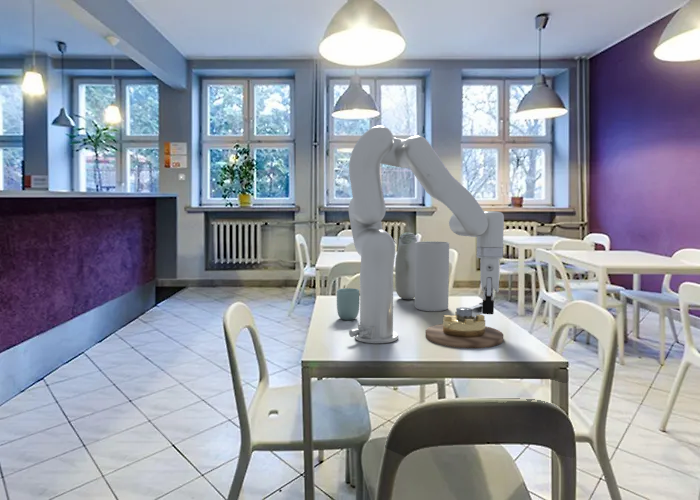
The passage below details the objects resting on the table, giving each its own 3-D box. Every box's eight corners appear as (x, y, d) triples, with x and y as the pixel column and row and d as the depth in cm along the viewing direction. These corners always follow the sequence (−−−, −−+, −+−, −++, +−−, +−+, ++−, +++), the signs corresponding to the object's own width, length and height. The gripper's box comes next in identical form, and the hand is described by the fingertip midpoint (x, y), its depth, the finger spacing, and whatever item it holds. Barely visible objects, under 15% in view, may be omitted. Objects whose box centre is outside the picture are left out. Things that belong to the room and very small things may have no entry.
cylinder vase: (451, 312, 172) (452, 243, 169) (416, 311, 172) (417, 243, 170) (444, 305, 184) (445, 241, 182) (412, 305, 184) (413, 241, 182)
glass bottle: (393, 297, 201) (393, 231, 199) (417, 296, 202) (417, 231, 200) (397, 301, 192) (397, 232, 189) (421, 301, 192) (422, 232, 190)
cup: (339, 316, 166) (339, 287, 165) (361, 316, 164) (361, 288, 163) (334, 321, 158) (334, 291, 157) (357, 322, 156) (357, 292, 156)
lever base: (479, 353, 122) (479, 347, 121) (410, 337, 137) (410, 332, 137) (516, 336, 137) (516, 331, 137) (451, 324, 153) (451, 319, 152)
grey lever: (472, 339, 128) (473, 315, 128) (434, 331, 137) (435, 309, 136) (504, 325, 143) (504, 304, 143) (468, 319, 151) (468, 299, 151)
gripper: (504, 255, 132) (502, 319, 133) (501, 251, 146) (499, 309, 148) (476, 254, 134) (474, 318, 135) (476, 250, 148) (475, 308, 150)
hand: (487, 313), depth 142 cm, fingers closed
